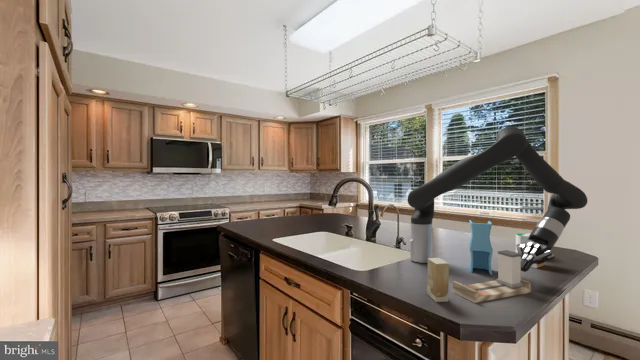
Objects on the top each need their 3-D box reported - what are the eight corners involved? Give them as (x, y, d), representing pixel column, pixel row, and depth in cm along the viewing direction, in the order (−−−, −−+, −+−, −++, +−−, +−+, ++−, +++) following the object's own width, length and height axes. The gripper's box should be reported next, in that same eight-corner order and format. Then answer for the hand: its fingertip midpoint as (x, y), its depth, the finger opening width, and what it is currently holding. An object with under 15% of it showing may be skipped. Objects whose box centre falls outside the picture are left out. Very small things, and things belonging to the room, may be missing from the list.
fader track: (474, 302, 89) (474, 291, 89) (452, 291, 98) (452, 281, 98) (530, 292, 97) (530, 281, 97) (505, 282, 105) (505, 273, 105)
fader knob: (512, 287, 96) (512, 255, 96) (495, 281, 102) (496, 251, 101) (523, 285, 98) (523, 254, 97) (506, 279, 103) (506, 249, 103)
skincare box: (426, 294, 96) (426, 257, 96) (439, 293, 96) (439, 257, 96) (436, 302, 90) (435, 263, 89) (449, 302, 90) (449, 263, 90)
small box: (537, 269, 120) (537, 237, 120) (519, 265, 125) (519, 235, 125) (544, 265, 124) (545, 235, 124) (527, 261, 130) (528, 233, 130)
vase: (490, 269, 121) (490, 221, 120) (492, 275, 113) (492, 224, 113) (469, 266, 124) (469, 220, 124) (470, 272, 117) (470, 223, 116)
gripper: (572, 243, 100) (546, 283, 96) (533, 235, 112) (509, 270, 109) (561, 229, 98) (535, 269, 94) (523, 223, 110) (499, 258, 107)
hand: (521, 269), depth 101 cm, fingers closed
